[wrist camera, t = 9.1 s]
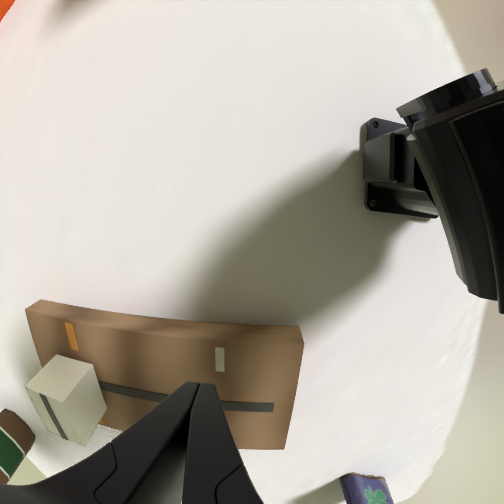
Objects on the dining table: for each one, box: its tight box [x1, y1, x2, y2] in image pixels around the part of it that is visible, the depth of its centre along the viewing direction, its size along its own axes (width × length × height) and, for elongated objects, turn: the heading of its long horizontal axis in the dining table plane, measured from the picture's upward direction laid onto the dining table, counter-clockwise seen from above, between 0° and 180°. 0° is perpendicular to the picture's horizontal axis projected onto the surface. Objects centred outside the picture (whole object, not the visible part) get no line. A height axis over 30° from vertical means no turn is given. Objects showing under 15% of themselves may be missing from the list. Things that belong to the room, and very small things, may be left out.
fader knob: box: [25, 354, 107, 446], centre depth 16 cm, size 4×5×5 cm
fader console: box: [25, 300, 304, 450], centre depth 20 cm, size 23×12×3 cm, turn 87°
